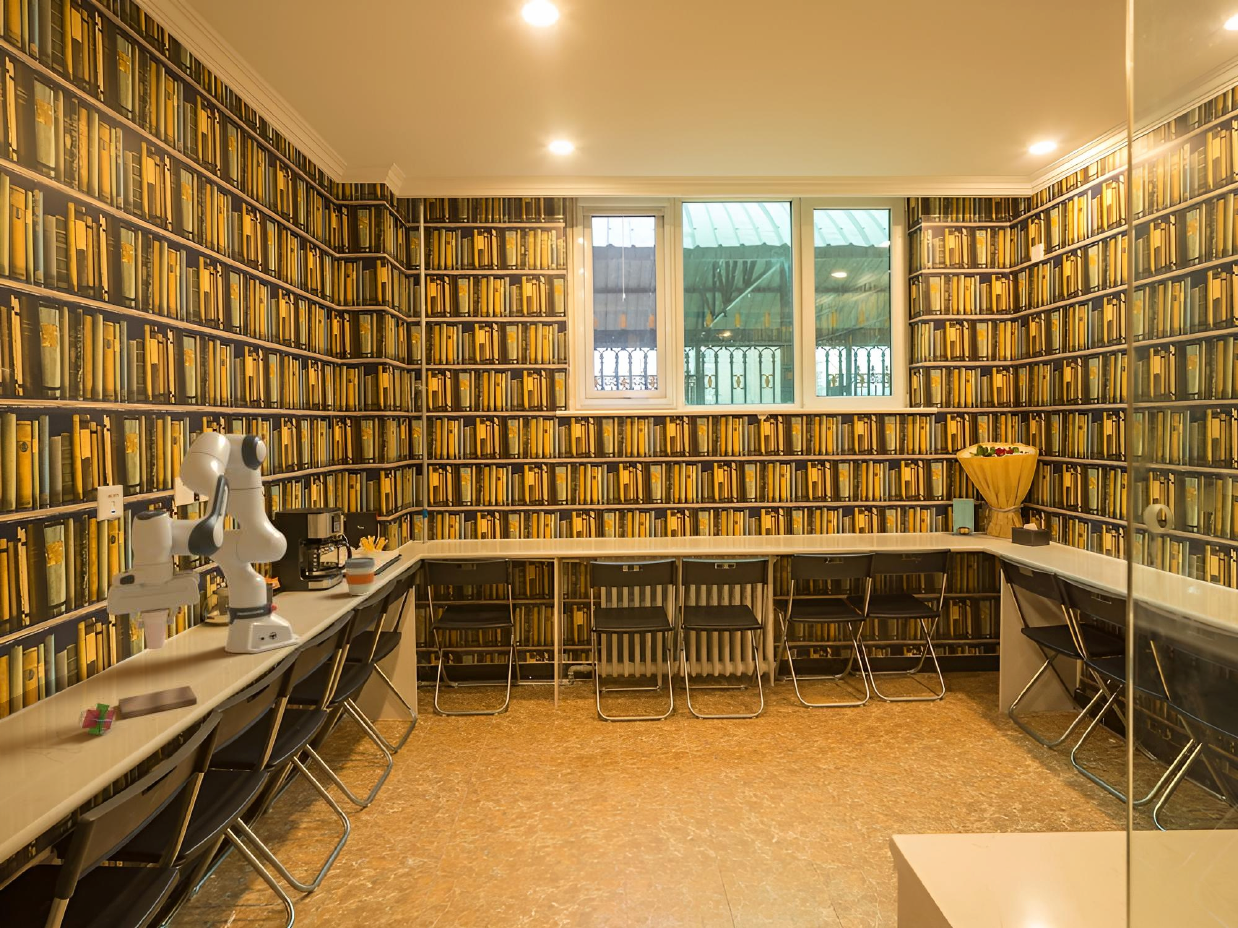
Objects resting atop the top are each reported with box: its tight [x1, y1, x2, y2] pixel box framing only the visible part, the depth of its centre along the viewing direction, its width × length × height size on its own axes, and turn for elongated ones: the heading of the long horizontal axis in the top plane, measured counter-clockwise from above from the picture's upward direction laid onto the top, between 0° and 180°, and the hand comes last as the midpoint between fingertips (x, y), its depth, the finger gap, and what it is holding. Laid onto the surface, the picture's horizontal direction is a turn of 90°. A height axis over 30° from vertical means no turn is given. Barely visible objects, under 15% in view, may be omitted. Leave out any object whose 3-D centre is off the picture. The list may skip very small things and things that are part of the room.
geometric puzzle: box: [77, 702, 118, 737], centre depth 172 cm, size 7×7×8 cm
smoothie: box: [139, 608, 170, 650], centre depth 188 cm, size 6×6×14 cm
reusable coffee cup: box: [344, 556, 376, 596], centre depth 319 cm, size 13×12×15 cm
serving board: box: [118, 685, 198, 720], centre depth 189 cm, size 16×12×2 cm
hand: (155, 626), depth 188 cm, fingers closed on smoothie, 5 cm apart
